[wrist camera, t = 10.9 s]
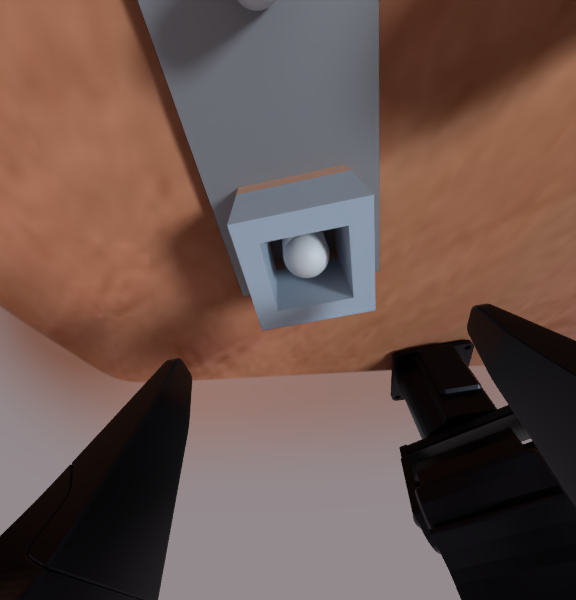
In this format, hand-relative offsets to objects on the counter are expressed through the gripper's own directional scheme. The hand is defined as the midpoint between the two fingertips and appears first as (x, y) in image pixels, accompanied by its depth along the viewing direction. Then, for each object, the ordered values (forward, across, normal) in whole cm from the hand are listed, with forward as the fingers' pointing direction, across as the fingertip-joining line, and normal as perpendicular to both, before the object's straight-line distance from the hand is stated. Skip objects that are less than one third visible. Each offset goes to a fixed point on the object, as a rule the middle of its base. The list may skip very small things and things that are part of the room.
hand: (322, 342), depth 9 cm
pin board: (+10, 0, -5) cm, 11 cm away
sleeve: (+9, 0, 0) cm, 9 cm away
